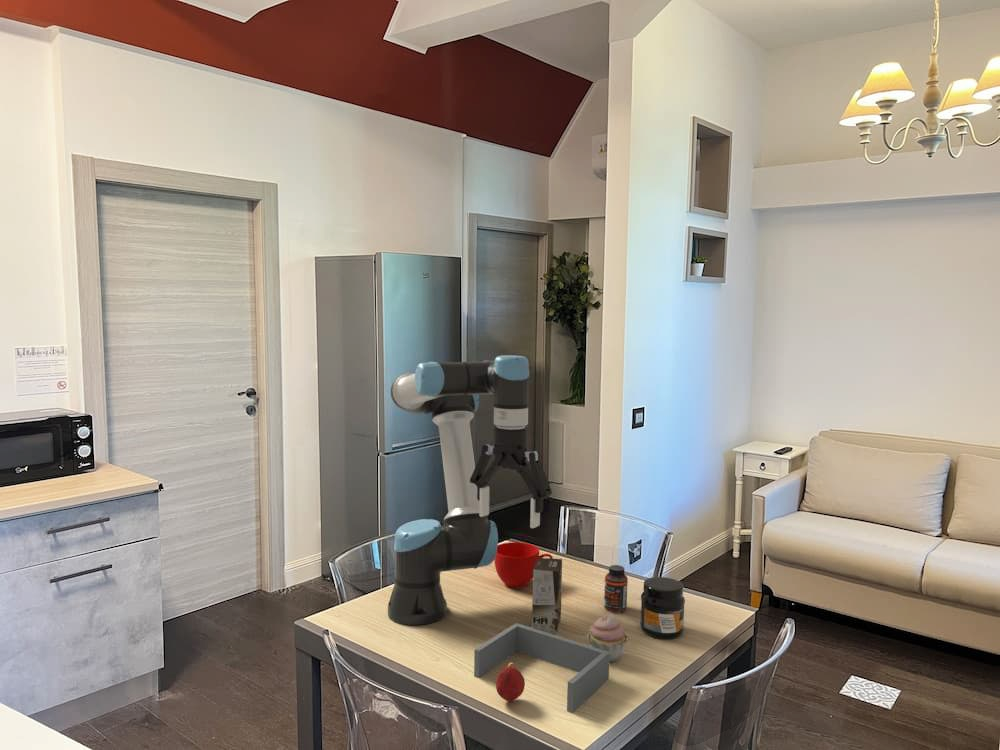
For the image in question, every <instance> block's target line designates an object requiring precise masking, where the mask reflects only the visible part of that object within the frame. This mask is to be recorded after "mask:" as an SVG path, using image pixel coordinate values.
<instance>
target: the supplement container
mask: <svg viewBox="0 0 1000 750" xmlns="http://www.w3.org/2000/svg"><path fill="white" fill-rule="evenodd" d="M642 589H643V591H642V593H641V595H640V600H641V602H640V603H641V604H640V605H641V606H640V608H641V609H640V623H639V624H640V629H641V631H643V632H644V633H645V634H646V635H648V636H651V637H653V638H657V639H664V640H668V639H669V640H670V639H671V640H672V639H676V638H678V637H680V636H681V635H682V634H683V632H684V629H685V625H684V623H685V622H684V621H685V604H686V599H685V597H684V585H683V583H682V582H681V581H679V580H677V579H674V578H670V577H666V576H654V577H653V576H652V577H649V578H647V579H645V580H644V581H643V588H642Z"/></svg>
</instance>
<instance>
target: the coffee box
mask: <svg viewBox="0 0 1000 750" xmlns="http://www.w3.org/2000/svg"><path fill="white" fill-rule="evenodd" d="M562 578H563V559H562V558H554V557H553V558H550V557H543V558H538V559H537V562H536V564H535V566H534V569H533V578H532V602H531V603H532V604H531V605H532V606H531V608H532V609H531V628H533V629H537V630H540V631H543V632H546V633H549V634H553V635H556V636H558V635H557V634H558V631H559V627H560V624H561V620H562V619H561V618H562V588H563V587H562V585H563V583H562V582H563V579H562Z"/></svg>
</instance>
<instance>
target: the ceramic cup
mask: <svg viewBox="0 0 1000 750" xmlns="http://www.w3.org/2000/svg"><path fill="white" fill-rule="evenodd" d="M538 558H553V559H554V557H553V556H552V555H551V554H550V553H542V554H541V555H540V548H538V547H537V546H536V545H534V544H531V543H526V542H521V541H520V542H518V541H516V542H515V541H514V542H513V541H511V542H504V543H500V544H498V547H497V553H496V556H495V559H494V561H493V562H494V567H495V570H496V573H497V575H498V578H500V580H501V581H502V583H504V585H505V586H506V587H509V588H514V589H516V588H517V589H518V588H519V589H521V588H524V587H526V586H527V585H528V584H529V583H530V582H531V581H533V569H534V566H535V564H536V562H537V559H538Z"/></svg>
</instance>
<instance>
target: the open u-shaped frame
mask: <svg viewBox="0 0 1000 750" xmlns="http://www.w3.org/2000/svg"><path fill="white" fill-rule="evenodd" d="M517 652H519V653H521V654H523V655H526V656H530V657H533V658H536V659H538V660H541V661H545V662H548V663H551V664H554V665H556V666H559V667H562V668H566V669H568V670H572V671H575V672H577V673H576V674H575V675H574V676H573V677H572V678H570V679H569V680H568V681H567V693H566V695H567V697H566V711H567V712H569V713H573V714H574V712H575V711H576V710H577V709H578V708H579V707H581V706H582V704H584V703H585V702H586V701H587V700H588V699H589V698H591V696H592V695H594V694H595V692H597V691H598V690H599V689H600V688H601V687H602V686H603V685H604V684H605V683H606V682H607V681H609V679H610V662H609V660H610V652H607V651H604V650H601V649H598V648H594V647H591V645H587V644H584V643H581V642H577V641H574V640H571V639H568V638H565V637H561V636H559V635H553V634H549V633H546V632H543V631H540V630H537V629H533V628H532V627H530V626H527V625H523V624H521V623H517V622H515V623H514V624H511V625H510V626H509V627H507V628H506V629H504V630H503V631H501V632H499V633H498V634H496V635H494V636H493V637H492V638H490V639H488V640H486V641H485V642H484V643H482V644H481V645H479V646H477V647H475V648H474V654H473V655H474V660H473V661H474V662H473V663H474V664H473V667H474V670H473V672H474V673H473V675H474V677H476V678H480V677H482V676H483V675H485V674H487V672H489V671H490V670H492V669H494V668H495V667H496V666H498V665H499V664H501V663H502V662H503V661H505V660H506V659H508V658H509V657H511V656H513V655H514V654H516V653H517Z"/></svg>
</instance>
